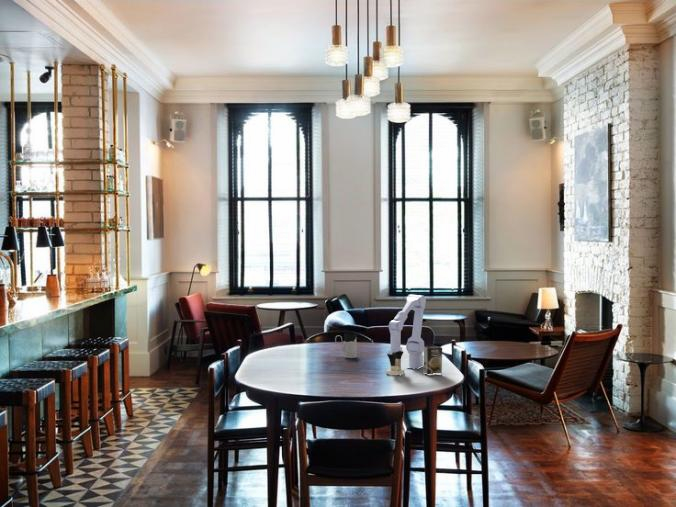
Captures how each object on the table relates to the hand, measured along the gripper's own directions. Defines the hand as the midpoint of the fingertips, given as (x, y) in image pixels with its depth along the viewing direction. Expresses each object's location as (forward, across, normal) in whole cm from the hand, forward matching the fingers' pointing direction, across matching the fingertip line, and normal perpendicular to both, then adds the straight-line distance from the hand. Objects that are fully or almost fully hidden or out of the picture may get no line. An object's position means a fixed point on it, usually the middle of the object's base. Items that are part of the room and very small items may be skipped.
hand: (395, 364), depth 385 cm
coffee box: (+6, +10, -19) cm, 22 cm away
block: (+3, 0, 0) cm, 3 cm away
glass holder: (+6, +30, +48) cm, 57 cm away
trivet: (+5, 0, 0) cm, 5 cm away
